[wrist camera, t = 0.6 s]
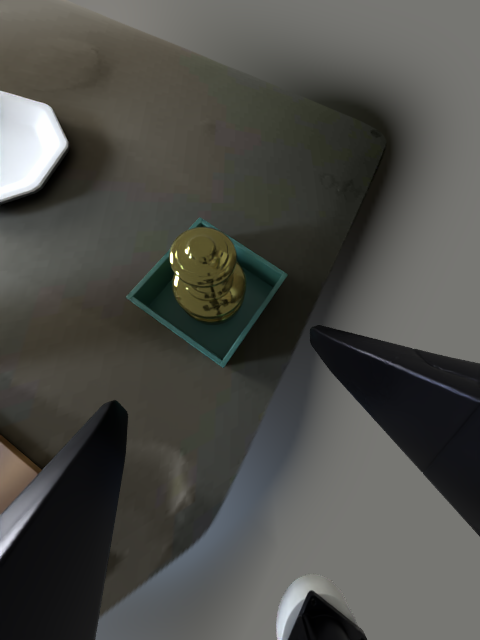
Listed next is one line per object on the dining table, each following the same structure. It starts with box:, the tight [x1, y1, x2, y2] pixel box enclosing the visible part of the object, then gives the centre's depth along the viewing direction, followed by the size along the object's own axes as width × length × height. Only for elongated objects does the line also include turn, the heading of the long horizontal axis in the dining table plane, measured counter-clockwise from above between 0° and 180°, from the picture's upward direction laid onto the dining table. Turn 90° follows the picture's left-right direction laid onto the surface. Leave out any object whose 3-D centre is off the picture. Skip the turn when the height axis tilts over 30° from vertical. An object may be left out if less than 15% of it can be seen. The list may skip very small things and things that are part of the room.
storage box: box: [126, 218, 288, 368], centre depth 20 cm, size 12×12×4 cm
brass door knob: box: [169, 227, 247, 325], centre depth 17 cm, size 7×7×10 cm
